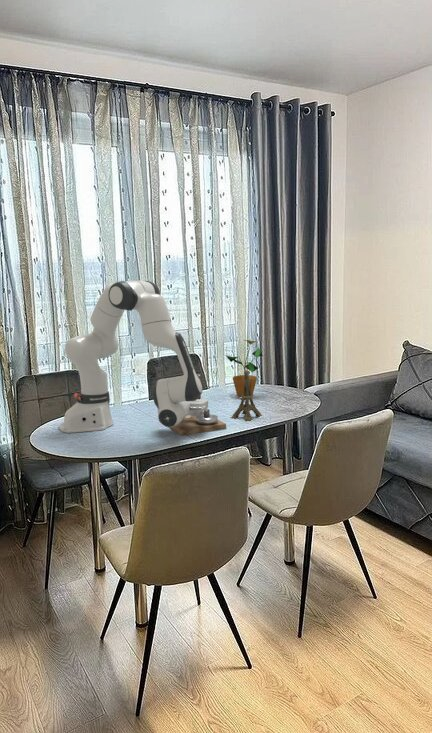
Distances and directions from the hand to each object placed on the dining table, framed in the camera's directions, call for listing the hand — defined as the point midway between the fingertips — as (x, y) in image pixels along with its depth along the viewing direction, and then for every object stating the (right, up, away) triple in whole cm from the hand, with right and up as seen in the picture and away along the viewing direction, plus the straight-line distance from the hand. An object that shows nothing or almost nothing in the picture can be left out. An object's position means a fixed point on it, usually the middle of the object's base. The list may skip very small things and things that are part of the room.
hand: (187, 400), depth 238 cm
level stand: (+2, -11, +3) cm, 11 cm away
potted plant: (+27, -2, +52) cm, 59 cm away
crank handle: (+3, -9, +1) cm, 9 cm away
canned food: (0, -2, +49) cm, 49 cm away
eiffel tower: (+26, -9, +13) cm, 30 cm away
